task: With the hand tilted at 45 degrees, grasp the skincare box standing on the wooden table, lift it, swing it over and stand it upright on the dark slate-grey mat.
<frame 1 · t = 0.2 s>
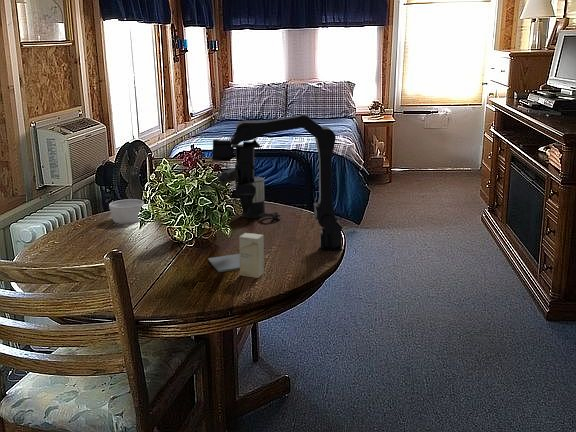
hand: (245, 209, 201), 14 cm above the table, tool pointing down, fingers open, 9 cm apart
milk frother: (261, 217, 243), on the table
slate mat: (235, 262, 195), on the table
ramekin: (128, 220, 243), on the table
skincare box: (252, 275, 185), on the table
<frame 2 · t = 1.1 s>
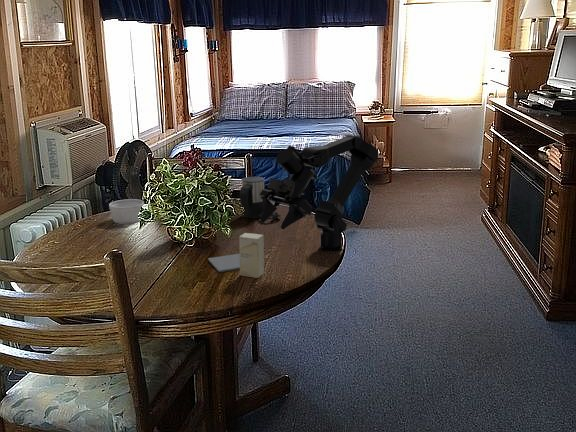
hand: (271, 225, 186), 13 cm above the table, tool tilted 45°, fingers open, 9 cm apart
nothing on the table moved.
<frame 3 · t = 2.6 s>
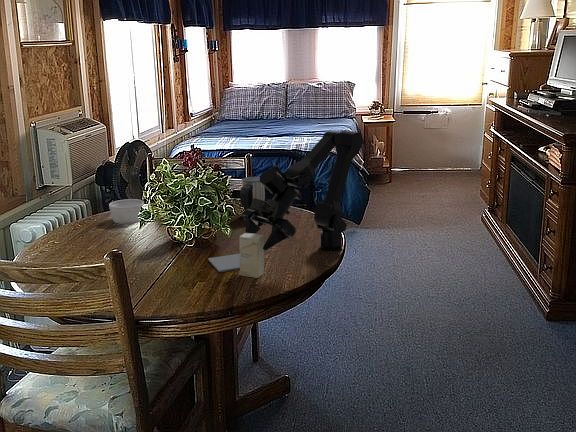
hand: (253, 246, 183), 9 cm above the table, tool tilted 45°, fingers open, 9 cm apart
nothing on the table moved.
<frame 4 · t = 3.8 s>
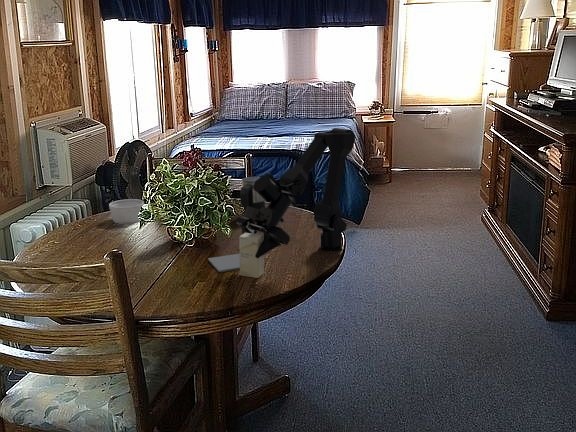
hand: (247, 254, 182), 7 cm above the table, tool tilted 45°, fingers closed on skincare box, 7 cm apart
skincare box: (252, 275, 185), on the table, touching gripper
everything else where it was.
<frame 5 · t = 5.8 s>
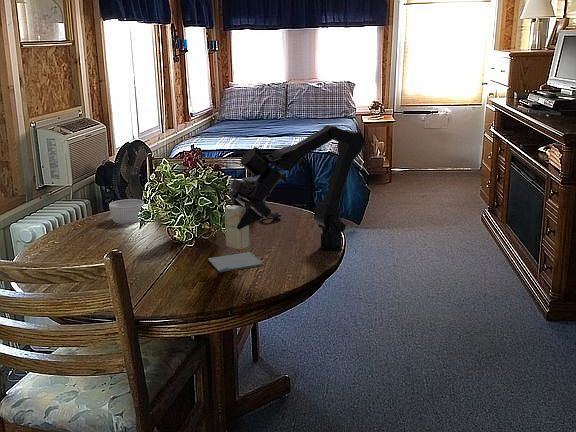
hand: (232, 225, 187), 13 cm above the table, tool tilted 45°, fingers closed on skincare box, 7 cm apart
skincare box: (238, 246, 190), point 6 cm above the table, touching gripper
everything else where it was.
when the fingers open (8 cm above the table, at t = 7.7 s): skincare box stays where it is, resting on slate mat.
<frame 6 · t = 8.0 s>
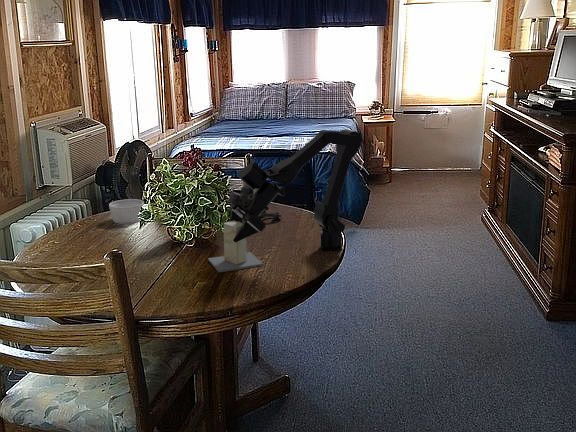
hand: (229, 237, 192), 9 cm above the table, tool tilted 45°, fingers open, 9 cm apart
skincare box: (235, 261, 194), resting on slate mat
everything else where it was.
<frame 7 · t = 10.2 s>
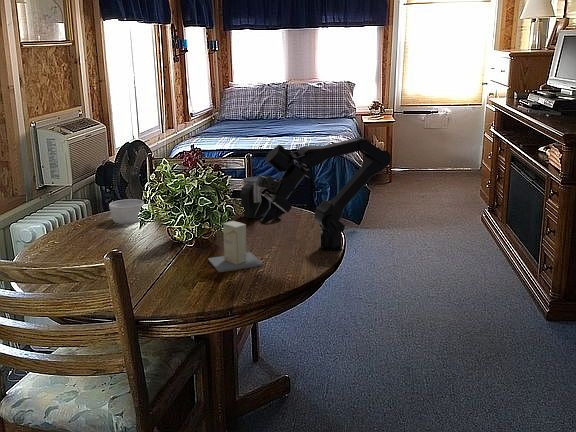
hand: (258, 220, 195), 12 cm above the table, tool tilted 40°, fingers open, 9 cm apart
nothing on the table moved.
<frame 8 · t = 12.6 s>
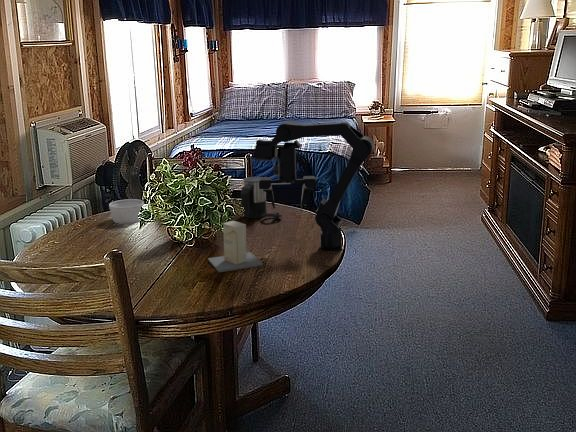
hand: (287, 207, 207), 13 cm above the table, tool pointing down, fingers open, 9 cm apart
nothing on the table moved.
at the end: skincare box inside the target area on the slate mat (0.3 cm from its centre), point 0.4 cm above the slate mat's base; skincare box tilted 0°; the gripper is holding nothing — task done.
